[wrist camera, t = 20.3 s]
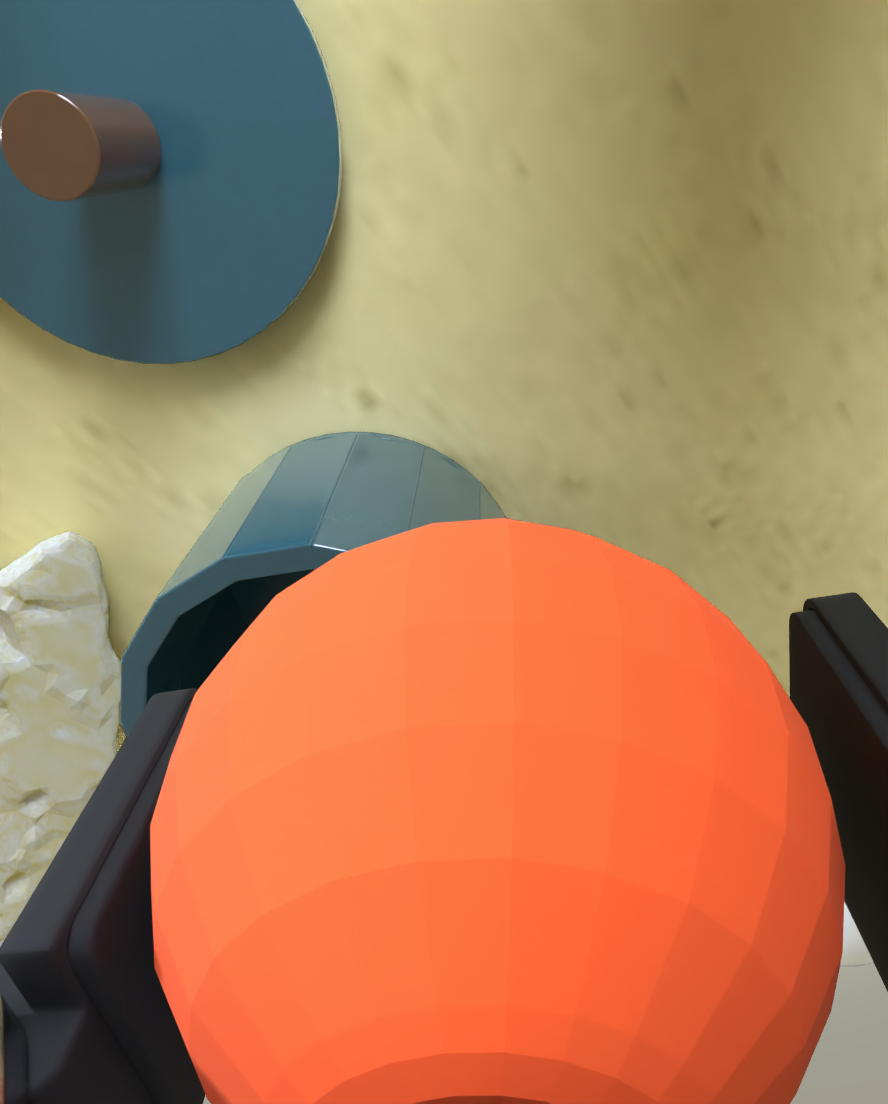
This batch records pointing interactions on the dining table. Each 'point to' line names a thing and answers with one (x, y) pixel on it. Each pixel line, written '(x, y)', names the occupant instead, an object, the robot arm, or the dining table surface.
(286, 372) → the dining table surface
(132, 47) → the jar lid
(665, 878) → the clementine
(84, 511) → the dining table surface
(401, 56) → the dining table surface
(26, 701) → the white coral rock
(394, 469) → the jar
